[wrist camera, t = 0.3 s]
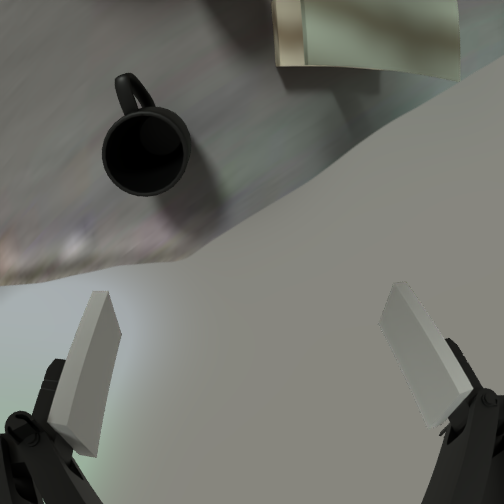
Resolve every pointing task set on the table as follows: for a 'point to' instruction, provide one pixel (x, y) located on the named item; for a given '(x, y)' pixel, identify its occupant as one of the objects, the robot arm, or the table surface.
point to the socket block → (369, 35)
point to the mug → (144, 143)
